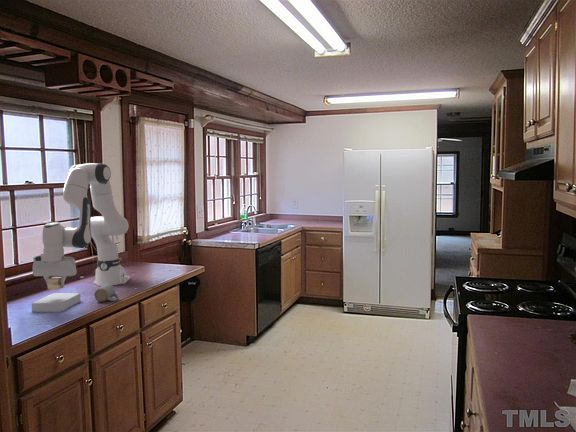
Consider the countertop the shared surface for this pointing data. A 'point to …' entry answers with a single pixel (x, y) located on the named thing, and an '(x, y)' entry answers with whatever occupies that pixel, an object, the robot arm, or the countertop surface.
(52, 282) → the birch cube
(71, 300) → the grey platform
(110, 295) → the ceramic mug
